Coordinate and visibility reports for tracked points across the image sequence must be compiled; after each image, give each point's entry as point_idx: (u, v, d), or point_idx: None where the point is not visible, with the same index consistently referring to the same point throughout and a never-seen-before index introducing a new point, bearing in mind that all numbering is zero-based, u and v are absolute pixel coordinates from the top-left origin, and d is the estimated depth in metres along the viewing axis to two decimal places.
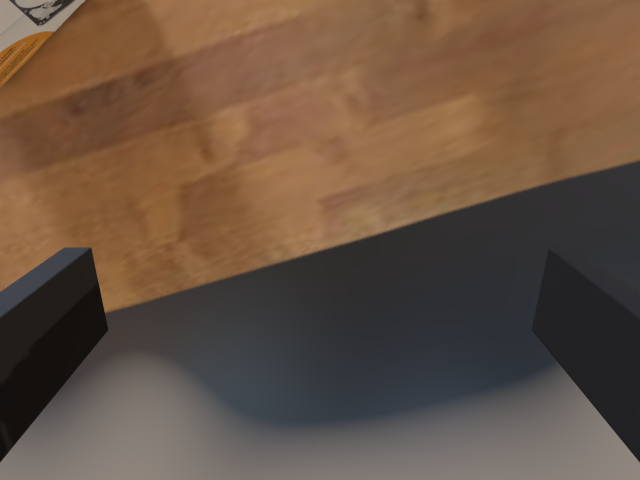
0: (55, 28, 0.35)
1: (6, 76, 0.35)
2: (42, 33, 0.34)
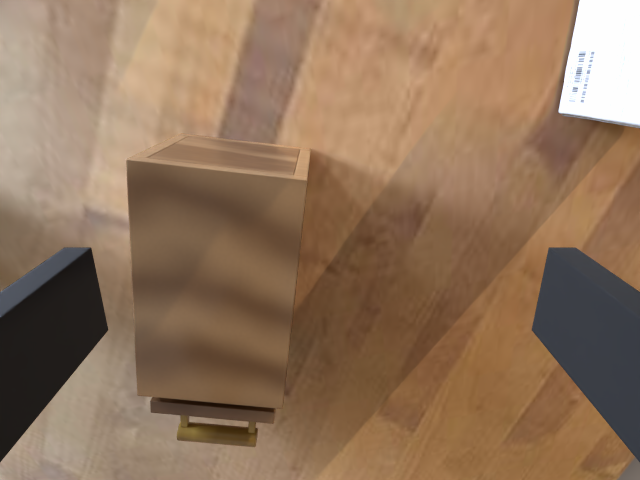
0: None
1: None
2: None
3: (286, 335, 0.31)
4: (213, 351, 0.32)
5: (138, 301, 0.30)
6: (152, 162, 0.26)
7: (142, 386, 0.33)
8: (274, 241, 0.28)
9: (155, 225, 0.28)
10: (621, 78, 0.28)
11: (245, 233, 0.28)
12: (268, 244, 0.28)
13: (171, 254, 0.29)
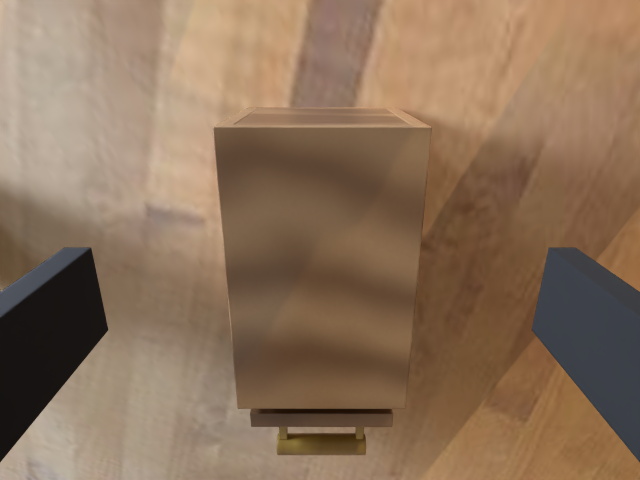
0: None
1: None
2: None
3: (409, 321, 0.26)
4: (323, 348, 0.27)
5: (234, 298, 0.26)
6: (244, 127, 0.22)
7: (243, 397, 0.28)
8: (393, 208, 0.23)
9: (250, 205, 0.23)
10: None
11: (358, 201, 0.23)
12: (385, 213, 0.24)
13: (270, 238, 0.24)
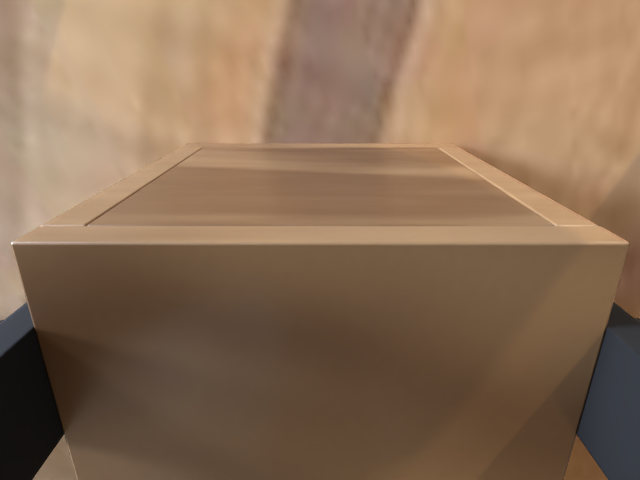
0: None
1: None
2: None
3: None
4: None
5: None
6: (99, 242, 0.08)
7: None
8: (499, 429, 0.09)
9: (139, 422, 0.09)
10: None
11: (413, 416, 0.09)
12: (480, 438, 0.09)
13: None
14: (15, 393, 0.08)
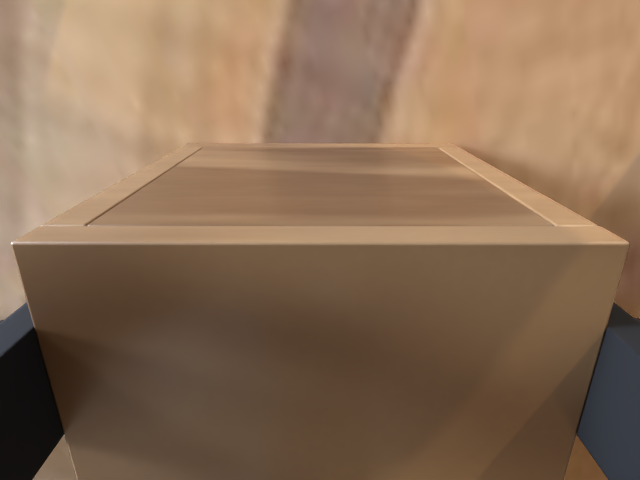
0: None
1: None
2: None
3: None
4: None
5: None
6: (100, 242, 0.08)
7: None
8: (499, 429, 0.09)
9: (139, 422, 0.09)
10: None
11: (413, 416, 0.09)
12: (480, 438, 0.09)
13: None
14: (14, 393, 0.08)
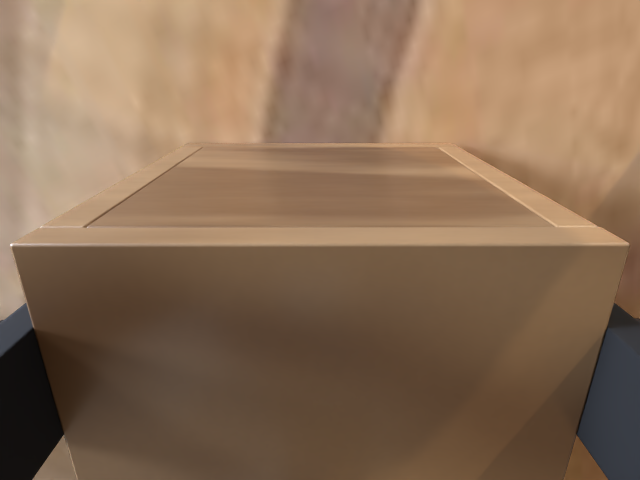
0: None
1: None
2: None
3: None
4: None
5: None
6: (99, 244, 0.08)
7: None
8: (499, 430, 0.09)
9: (139, 423, 0.09)
10: None
11: (413, 417, 0.09)
12: (480, 439, 0.09)
13: None
14: (15, 393, 0.08)
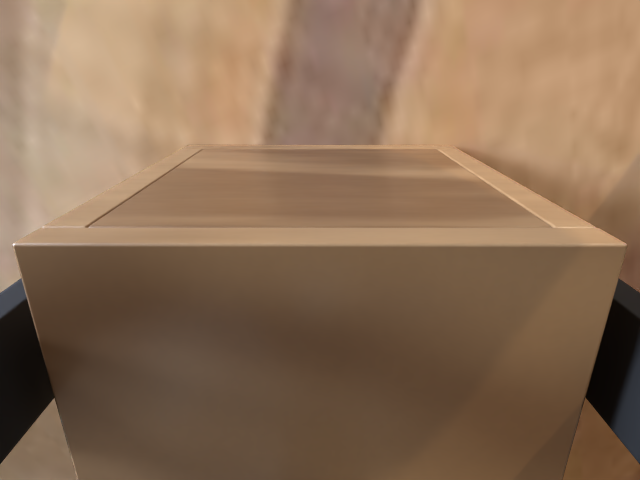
0: None
1: None
2: None
3: None
4: None
5: None
6: (101, 244, 0.08)
7: None
8: (498, 430, 0.09)
9: (139, 423, 0.09)
10: None
11: (412, 417, 0.09)
12: (479, 439, 0.09)
13: None
14: None
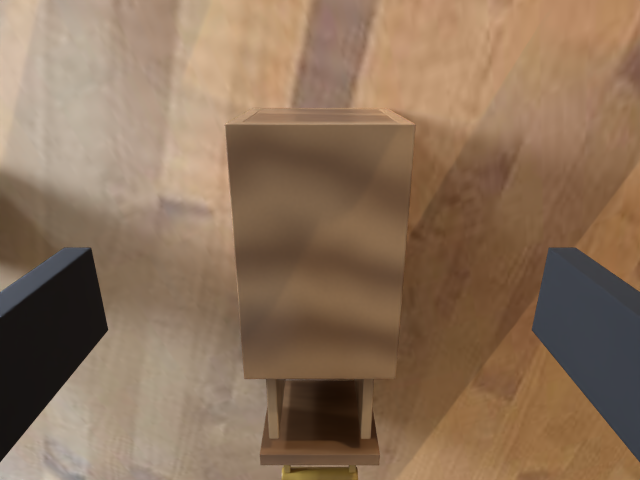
0: None
1: None
2: None
3: (397, 298, 0.29)
4: (321, 323, 0.30)
5: (242, 277, 0.29)
6: (252, 124, 0.25)
7: (249, 368, 0.31)
8: (382, 196, 0.27)
9: (257, 192, 0.27)
10: None
11: (352, 190, 0.27)
12: (376, 200, 0.27)
13: (274, 222, 0.27)
14: None
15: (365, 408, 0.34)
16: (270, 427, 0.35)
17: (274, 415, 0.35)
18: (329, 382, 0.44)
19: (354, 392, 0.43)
